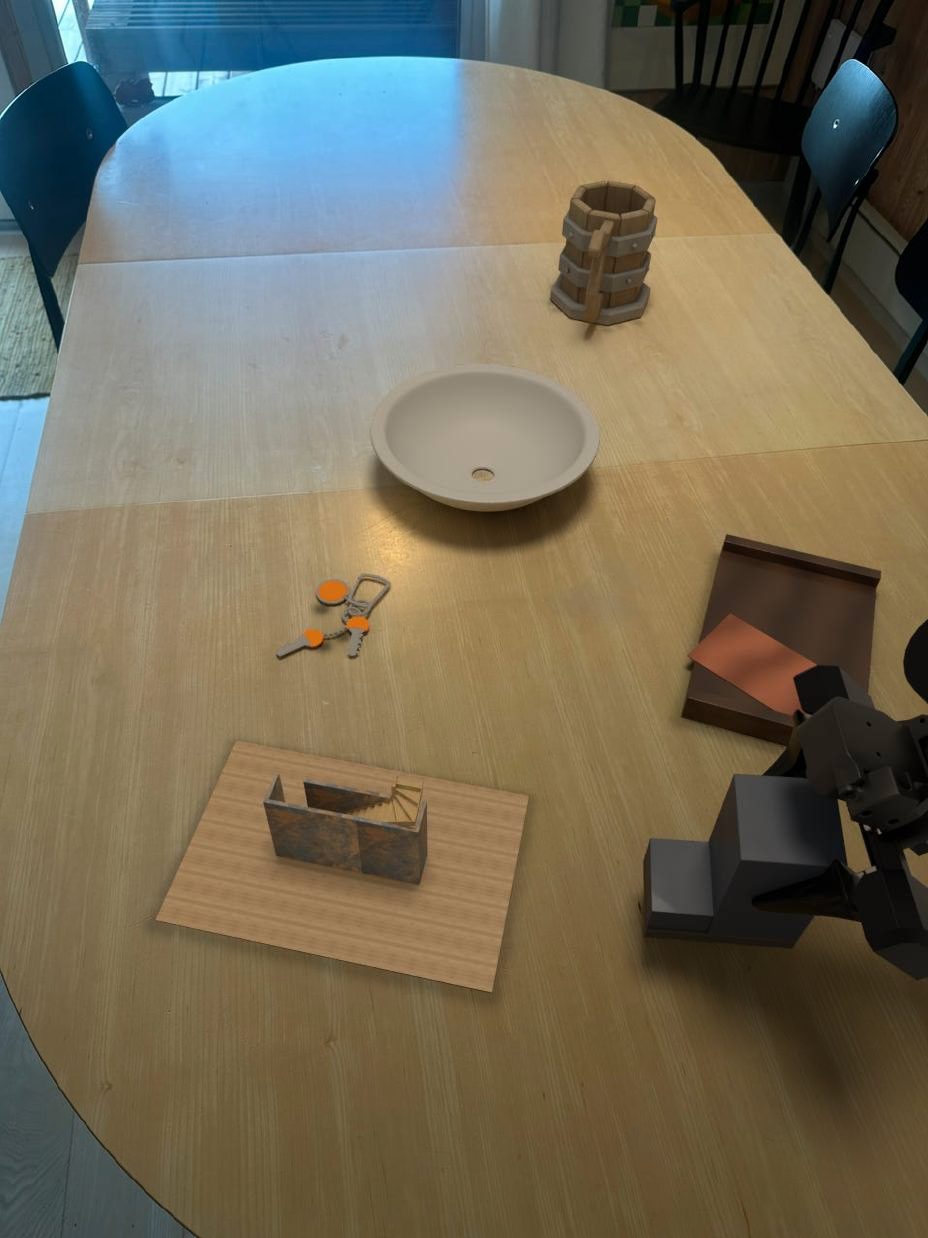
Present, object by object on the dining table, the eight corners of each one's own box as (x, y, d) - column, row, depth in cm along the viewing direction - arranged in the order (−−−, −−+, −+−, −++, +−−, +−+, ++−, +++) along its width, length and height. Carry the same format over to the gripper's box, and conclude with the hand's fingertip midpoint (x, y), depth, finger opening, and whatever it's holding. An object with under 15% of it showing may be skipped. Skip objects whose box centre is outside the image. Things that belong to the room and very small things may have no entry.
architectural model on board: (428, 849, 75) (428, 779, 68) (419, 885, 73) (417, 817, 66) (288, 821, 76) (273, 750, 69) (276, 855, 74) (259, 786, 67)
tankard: (566, 270, 138) (577, 162, 126) (653, 286, 135) (673, 177, 124) (527, 341, 125) (536, 228, 114) (624, 361, 122) (643, 246, 111)
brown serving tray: (872, 590, 95) (881, 570, 93) (857, 766, 81) (868, 747, 79) (712, 551, 99) (718, 531, 97) (672, 713, 85) (677, 694, 83)
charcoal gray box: (784, 871, 69) (835, 779, 58) (792, 949, 66) (848, 868, 55) (643, 861, 70) (666, 769, 59) (644, 937, 67) (669, 855, 56)
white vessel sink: (634, 513, 102) (644, 463, 98) (427, 579, 95) (427, 529, 90) (527, 392, 117) (532, 344, 112) (340, 442, 109) (336, 392, 105)
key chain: (334, 565, 96) (334, 558, 95) (402, 586, 94) (402, 579, 93) (269, 655, 88) (268, 649, 87) (342, 680, 86) (341, 674, 85)
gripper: (873, 569, 56) (652, 684, 64) (987, 861, 43) (694, 959, 52) (956, 659, 62) (744, 755, 70) (1077, 940, 49) (801, 1017, 57)
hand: (744, 856), depth 62 cm, fingers closed on charcoal gray box, 6 cm apart
